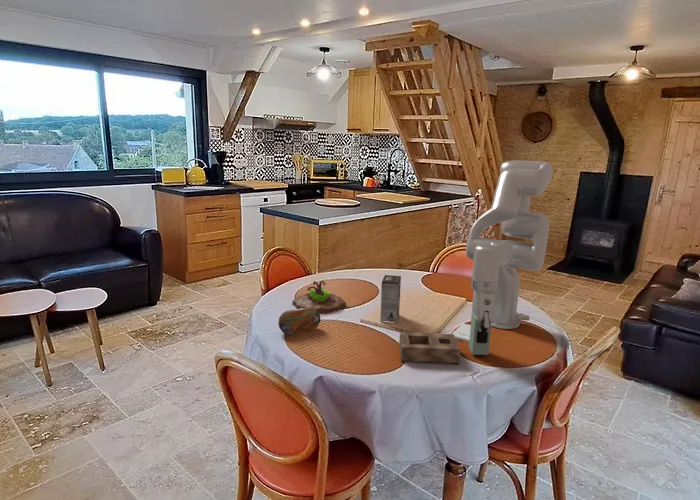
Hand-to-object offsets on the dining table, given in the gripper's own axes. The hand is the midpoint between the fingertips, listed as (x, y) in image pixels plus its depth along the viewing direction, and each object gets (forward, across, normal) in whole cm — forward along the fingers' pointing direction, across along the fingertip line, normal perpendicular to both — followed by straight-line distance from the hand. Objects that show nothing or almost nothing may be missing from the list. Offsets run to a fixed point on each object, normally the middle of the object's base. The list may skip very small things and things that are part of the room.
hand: (479, 338), depth 140 cm
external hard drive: (+6, +15, 0) cm, 16 cm away
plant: (+6, +38, +56) cm, 68 cm away
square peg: (+5, 0, 0) cm, 5 cm away
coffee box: (+6, +26, +27) cm, 38 cm away
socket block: (+5, -3, +16) cm, 17 cm away
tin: (+5, +12, +60) cm, 61 cm away
